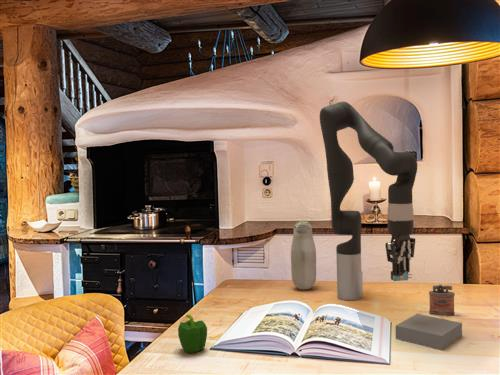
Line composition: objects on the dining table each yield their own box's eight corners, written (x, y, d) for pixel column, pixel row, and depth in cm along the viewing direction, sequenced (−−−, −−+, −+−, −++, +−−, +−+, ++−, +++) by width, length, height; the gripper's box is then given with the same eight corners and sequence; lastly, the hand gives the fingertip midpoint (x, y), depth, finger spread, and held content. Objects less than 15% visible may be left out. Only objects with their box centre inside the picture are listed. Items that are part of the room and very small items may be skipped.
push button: (408, 277, 157) (407, 245, 157) (416, 281, 152) (415, 248, 151) (387, 278, 156) (387, 246, 156) (395, 282, 151) (394, 249, 151)
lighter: (429, 314, 170) (428, 285, 170) (429, 311, 173) (428, 283, 173) (454, 316, 168) (454, 287, 167) (454, 313, 171) (454, 284, 170)
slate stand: (417, 326, 160) (417, 313, 159) (462, 336, 150) (462, 322, 150) (395, 338, 150) (395, 325, 149) (442, 350, 140) (442, 336, 140)
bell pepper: (210, 353, 143) (209, 318, 142) (181, 357, 141) (180, 322, 140) (204, 343, 151) (203, 310, 150) (177, 346, 149) (175, 313, 148)
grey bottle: (289, 286, 212) (287, 220, 210) (313, 285, 213) (312, 218, 211) (294, 292, 202) (292, 223, 200) (319, 291, 203) (317, 222, 201)
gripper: (401, 215, 161) (401, 268, 161) (376, 219, 151) (377, 276, 151) (423, 216, 155) (424, 271, 156) (399, 221, 145) (400, 280, 146)
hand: (401, 273), depth 154 cm, fingers closed on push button, 5 cm apart
